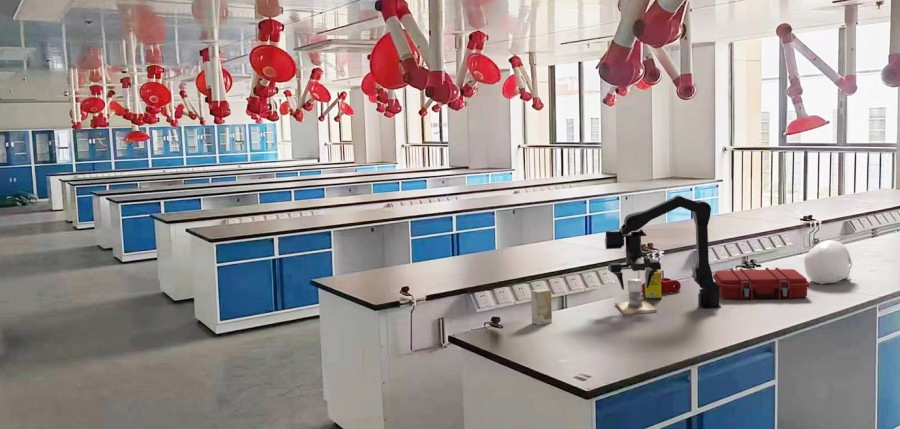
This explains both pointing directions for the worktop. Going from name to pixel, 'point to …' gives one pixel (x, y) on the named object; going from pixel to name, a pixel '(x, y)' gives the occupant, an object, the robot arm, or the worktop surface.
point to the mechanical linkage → (666, 286)
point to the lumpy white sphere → (828, 262)
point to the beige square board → (635, 305)
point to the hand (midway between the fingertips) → (635, 288)
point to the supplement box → (654, 287)
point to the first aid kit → (761, 284)
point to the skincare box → (541, 306)
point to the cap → (634, 285)
